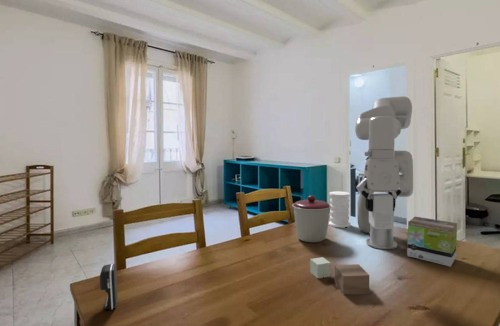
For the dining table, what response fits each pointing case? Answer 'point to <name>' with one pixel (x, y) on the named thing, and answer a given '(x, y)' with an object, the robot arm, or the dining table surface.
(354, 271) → the walnut block
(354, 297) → the dining table surface
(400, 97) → the robot arm
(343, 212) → the decorative container
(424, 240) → the tea box
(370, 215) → the small box
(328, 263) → the sage block
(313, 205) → the canister
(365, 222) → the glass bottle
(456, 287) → the dining table surface
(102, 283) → the battery charger
